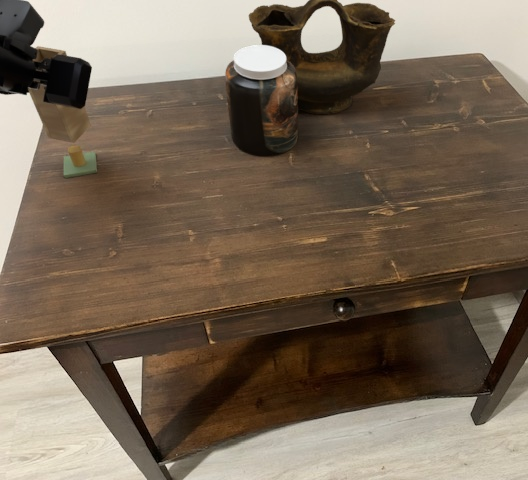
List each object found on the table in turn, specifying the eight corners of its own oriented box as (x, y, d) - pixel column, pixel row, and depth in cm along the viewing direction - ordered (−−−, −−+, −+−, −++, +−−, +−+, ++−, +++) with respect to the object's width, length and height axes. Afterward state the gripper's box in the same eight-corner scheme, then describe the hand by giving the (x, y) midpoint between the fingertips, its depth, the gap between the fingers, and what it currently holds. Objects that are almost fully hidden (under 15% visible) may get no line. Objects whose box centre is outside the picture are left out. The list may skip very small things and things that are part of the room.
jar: (226, 155, 90) (215, 75, 79) (236, 115, 98) (228, 37, 87) (295, 158, 90) (294, 79, 79) (300, 118, 98) (300, 41, 87)
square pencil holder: (74, 143, 80) (44, 67, 71) (48, 138, 81) (16, 62, 72) (91, 125, 83) (65, 50, 74) (66, 120, 84) (37, 45, 75)
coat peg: (64, 178, 85) (57, 161, 83) (64, 159, 88) (57, 142, 86) (97, 172, 86) (90, 155, 84) (96, 154, 90) (89, 137, 87)
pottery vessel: (257, 121, 97) (249, 14, 82) (253, 89, 104) (245, -15, 90) (390, 113, 100) (405, 8, 85) (377, 82, 107) (390, -20, 92)
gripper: (58, -3, 61) (128, 44, 76) (-80, -24, 64) (15, 25, 79) (41, 94, 62) (114, 121, 77) (-95, 68, 64) (2, 99, 80)
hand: (61, 89), depth 78 cm, fingers closed on square pencil holder, 4 cm apart
